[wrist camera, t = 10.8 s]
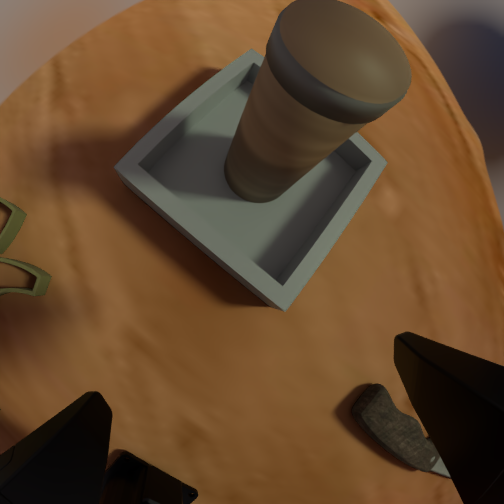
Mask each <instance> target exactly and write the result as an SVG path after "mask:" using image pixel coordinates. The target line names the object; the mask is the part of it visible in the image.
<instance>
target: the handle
mask: <svg viewBox="0 0 504 504" xmlns="http://www.w3.org/2000/svg"><path fill="white" fill-rule="evenodd" d="M410 83H411V69H410V65H409V62H408V59H407V57H406V55H405V53H404V51H403V49H402V48H401V46H400V45H399V43H398V42H397V41H396V39H395V38H394V37H393V36H392V35H391V34H390V33H389V32H388V31H387V30H386V29H385V28H384V27H383V26H382V25H381V24H380V23H379V22H377V21H376V20H375V19H373V18H372V17H370V16H369V15H367V14H366V13H364V12H363V11H361V10H359V9H357V8H355V7H353V6H351V5H348V4H346V3H343V2H340V1H337V0H296V1H294V2H292V3H291V4H290V5H288V6H287V7H286V8H285V9H284V10H283V11H282V12H281V13H280V14H279V16H278V19H277V21H276V23H275V26H274V28H273V30H272V33H271V35H270V38H269V40H268V43H267V46H266V55H265V57H264V60H263V62H262V65H261V67H260V70H259V72H258V74H257V77H256V79H255V82H254V85H253V87H252V90H251V92H250V95H249V97H248V100H247V102H246V105H245V108H244V110H243V113H242V116H241V118H240V121H239V124H238V126H237V129H236V132H235V135H234V137H233V140H232V143H231V146H230V148H229V151H228V154H227V157H226V160H225V163H224V175H225V179H226V181H227V184H228V185H229V187H230V188H231V190H232V191H233V192H234V193H235V194H236V195H238V196H239V197H240V198H242V199H244V200H246V201H249V202H253V203H267V202H270V201H273V200H275V199H277V198H278V197H280V196H281V195H282V194H283V193H284V192H286V191H287V190H288V189H289V188H290V187H291V186H293V185H294V184H295V183H296V182H297V181H298V180H300V179H301V178H302V177H303V176H304V175H306V174H307V173H308V172H309V171H310V170H311V169H313V168H314V167H315V166H316V165H317V164H319V163H320V162H321V161H322V160H323V159H325V158H326V157H327V156H328V155H329V154H331V153H332V152H333V151H334V150H335V149H337V148H338V147H339V146H340V145H341V144H343V143H344V142H345V141H346V140H347V139H349V138H350V137H351V136H352V135H353V134H355V133H356V132H357V131H358V130H360V129H361V128H362V127H363V126H364V125H366V124H367V123H369V122H372V121H374V120H376V119H377V118H379V117H380V116H382V115H383V114H384V113H385V112H387V111H388V110H389V109H391V108H392V107H393V106H394V105H396V104H397V103H398V102H399V101H401V100H402V99H403V98H404V96H405V94H406V93H407V90H408V88H409V86H410Z"/></svg>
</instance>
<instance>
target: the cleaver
mask: <svg viewBox="0 0 504 504" xmlns="http://www.w3.org/2000/svg"><path fill="white" fill-rule="evenodd" d="M352 415H353V417H354V419H355V420H356V422H357V423H358V424H359V425H360V426H361V428H362V429H363V430H364V431H365V432H366V433H367V434H368V435H369V436H370V437H371V438H372V439H373V440H375V441H376V442H377V443H378V444H379V445H380V446H382V447H383V448H384V449H385V450H387V451H388V452H389V453H391V454H392V455H393V456H395V457H396V458H398V459H399V460H400V461H402V462H404V463H405V464H407V465H409V466H411V467H413V468H416V469H418V470H420V471H423V472H428V471H433V472H435V473H438V474H441V475H443V476H446V477H449V478H451V477H450V475H449V473H448V471H447V469H446V467H445V465H444V463H443V461H442V459H441V457H440V455H439V453H438V452H437V450H436V448H435V446H434V444H433V442H432V440H431V438H428V439H426V438H425V437H424V434H423V431H422V429H421V426H420V424H419V422H418V421H417V420H416V419H414V418H413V417H411V416H409V415H407V414H404V413H402V412H400V411H399V410H398V409H397V408H396V406H395V404H394V403H393V401H392V399H391V397H390V395H389V393H388V391H387V390H386V388H385V387H384V386H382V385H381V384H373V385H371V386H370V387H369V388H367V389H366V391H365V392H364V393H363V394H362V396H361V397H360V398H359V399H358V401H357V402H356V403H355V405H354V406H353V408H352Z"/></svg>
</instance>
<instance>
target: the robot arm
mask: <svg viewBox="0 0 504 504" xmlns="http://www.w3.org/2000/svg"><path fill="white" fill-rule="evenodd" d="M394 363H395V366H396V368H397V371H398V373H399V375H400V378H401V380H402V382H403V385H404V387H405V389H406V392H407V394H408V397H409V399H410V401H411V403H412V406H413V408H414V409H415V411H416V413H417V415H418V417H419V418H420V420H421V422H422V424H423V426H424V427H425V429H426V431H427V433H428V435H429V437H430V438H431V440H432V442H433V444H434V446H435V448H436V450H437V452H438V453H439V455H440V457H441V459H442V461H443V463H444V465H445V467H446V469H447V471H448V473H449V475H450V477H451V479H452V481H453V483H454V485H455V487H456V489H457V491H458V493H459V495H460V497H461V499H462V501H463V504H504V366H502V365H499V364H496V363H493V362H490V361H488V360H485V359H482V358H479V357H476V356H474V355H471V354H468V353H465V352H463V351H460V350H457V349H454V348H452V347H449V346H446V345H444V344H441V343H438V342H435V341H433V340H430V339H427V338H425V337H422V336H419V335H417V334H414V333H411V332H404V333H401V334H398V335H396V336H395V339H394ZM111 423H112V411H111V408H110V407H109V405H108V404H107V402H106V401H105V399H104V398H103V396H102V395H101V394H100V393H99V392H97V391H90V392H86V393H85V394H84V395H82V396H81V397H80V398H78V399H77V400H76V401H74V402H73V403H71V404H70V405H69V406H67V407H66V408H65V409H63V410H62V411H61V412H59V413H58V414H57V415H55V416H54V417H52V418H51V419H50V420H48V421H47V422H46V423H44V424H43V425H42V426H40V427H39V428H37V429H36V430H35V431H33V432H32V433H31V434H29V435H28V436H26V437H25V438H24V439H22V440H21V441H20V442H18V443H17V444H16V445H14V446H12V447H11V448H10V449H8V450H7V451H5V452H4V453H3V454H1V455H0V504H190V503H192V502H193V501H194V500H195V499H196V498H197V497H198V491H197V490H196V489H195V488H192V487H190V486H188V485H186V484H184V483H182V482H181V481H180V480H178V479H176V478H174V477H172V476H170V475H168V474H167V473H165V472H163V471H161V470H159V469H158V468H156V467H154V466H151V465H149V464H148V463H146V462H144V461H143V460H141V459H139V458H138V457H136V456H134V455H133V454H131V453H129V452H123V453H121V454H120V456H119V457H118V458H117V459H116V460H115V461H114V462H113V464H112V465H111V466H110V467H109V468H108V469H107V470H106V471H105V468H106V463H107V458H108V451H109V441H110V432H111ZM124 457H128V458H129V459H130V460H127V459H125V458H124ZM189 493H194V494H189Z"/></svg>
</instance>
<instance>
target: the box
mask: <svg viewBox="0 0 504 504" xmlns="http://www.w3.org/2000/svg"><path fill="white" fill-rule="evenodd" d="M263 60H264V57H263V56H262V55H260V54H259V53H257V52H256V51H254V50H253V49H250V50H249V51H247V52H246V53H245V54H243V55H242V56H240V57H239V58H237V59H236V60H235V61H233V62H232V63H230V64H229V65H228V66H226V67H225V68H224V69H222V70H221V71H220V72H218V73H217V74H216V75H214V76H213V77H212V78H210V79H209V80H208V81H206V82H205V83H204V84H203V85H201V86H200V87H199V88H198V89H196V90H195V91H194V92H193V93H192V94H190V95H189V96H188V97H187V98H186V99H184V100H183V101H182V102H181V103H180V104H179V105H177V106H176V107H175V108H174V109H173V110H172V111H171V112H169V113H168V114H167V115H166V116H165V117H164V118H163V119H162V120H161V121H159V122H158V123H157V124H156V125H155V126H154V127H153V128H152V129H151V130H150V131H149V132H148V133H147V134H146V135H145V136H144V137H142V138H141V139H140V140H139V141H138V142H137V143H136V144H135V145H134V146H133V147H132V148H131V149H130V150H129V151H128V152H127V153H126V155H125V156H124V157H123V158H122V159H121V160H120V161H119V162H118V163H117V164H116V165H115V166H114V169H115V170H116V172H117V174H118V175H119V177H120V179H121V180H122V182H123V183H124V184H125V185H126V186H127V187H128V188H129V189H130V190H132V191H133V192H134V193H135V194H136V195H137V196H138V197H140V198H141V199H142V200H143V201H144V202H145V203H146V204H148V205H149V206H150V207H151V208H152V209H153V210H154V211H156V212H157V213H158V214H159V215H160V216H161V217H163V218H164V219H165V220H166V221H167V222H168V223H170V224H171V225H172V226H173V227H174V228H175V229H177V230H178V231H179V232H180V233H181V234H182V235H184V236H185V237H186V238H187V239H188V240H190V241H191V242H192V243H193V244H194V245H195V246H197V247H198V248H199V249H200V250H201V251H203V252H204V253H205V254H206V255H207V256H209V257H210V258H211V259H212V260H213V261H215V262H216V263H217V264H218V265H219V266H221V267H222V268H223V269H224V270H225V271H227V272H228V273H229V274H230V275H232V276H233V277H234V278H235V279H236V280H238V281H239V282H240V283H241V284H243V285H244V286H245V287H246V288H247V289H249V290H250V291H251V292H252V293H254V294H255V295H256V296H257V297H259V298H260V299H261V300H262V301H264V302H265V303H266V304H267V305H269V306H270V307H272V308H275V309H278V310H281V311H285V312H286V310H287V309H288V308H289V306H290V305H291V304H292V302H293V301H294V300H295V298H296V297H297V296H298V294H299V293H300V291H301V290H302V289H303V287H304V286H305V285H306V283H307V282H308V281H309V279H310V278H311V276H312V275H313V274H314V272H315V271H316V269H317V268H318V267H319V265H320V264H321V262H322V261H323V260H324V258H325V257H326V255H327V254H328V252H329V251H330V250H331V248H332V247H333V245H334V244H335V242H336V241H337V239H338V238H339V236H340V235H341V234H342V232H343V231H344V229H345V228H346V226H347V225H348V223H349V222H350V220H351V219H352V217H353V216H354V214H355V213H356V211H357V210H358V208H359V207H360V205H361V204H362V202H363V201H364V199H365V197H366V196H367V194H368V193H369V191H370V190H371V188H372V187H373V185H374V183H375V182H376V180H377V179H378V177H379V175H380V174H381V172H382V171H383V169H384V167H385V166H386V164H387V163H388V162H387V161H386V160H385V159H384V158H383V157H382V156H381V155H380V154H379V153H378V152H377V151H376V150H375V149H374V148H373V147H372V146H371V145H370V144H369V143H368V142H367V141H366V140H365V139H364V138H363V137H362V136H361V135H360V134H359V133H357V132H356V133H355V134H353V135H352V136H351V137H350V138H349V139H347V140H346V141H345V142H344V143H343V144H341V145H340V146H339V147H338V148H337V149H335V150H334V151H333V152H332V153H331V154H329V155H328V156H327V157H326V158H325V159H323V160H322V161H321V162H320V163H319V164H317V165H316V166H315V167H314V168H313V169H311V170H310V171H309V172H308V173H307V174H306V175H304V176H303V177H302V178H301V179H300V180H298V181H297V182H296V183H295V184H294V185H293V186H291V187H290V188H289V189H288V190H287V191H286V192H284V193H283V194H282V195H281V196H280V197H278V198H277V199H275V200H273V201H270V202H267V203H253V202H249V201H246V200H244V199H242V198H240V197H239V196H238V195H236V194H235V193H234V192H233V191H232V190H231V188H230V187H229V185H228V184H227V181H226V179H225V175H224V163H225V160H226V157H227V154H228V151H229V148H230V146H231V143H232V140H233V137H234V135H235V132H236V129H237V126H238V124H239V121H240V118H241V116H242V113H243V110H244V108H245V105H246V102H247V100H248V97H249V95H250V92H251V90H252V87H253V85H254V82H255V79H256V77H257V74H258V72H259V70H260V67H261V65H262V62H263Z"/></svg>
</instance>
